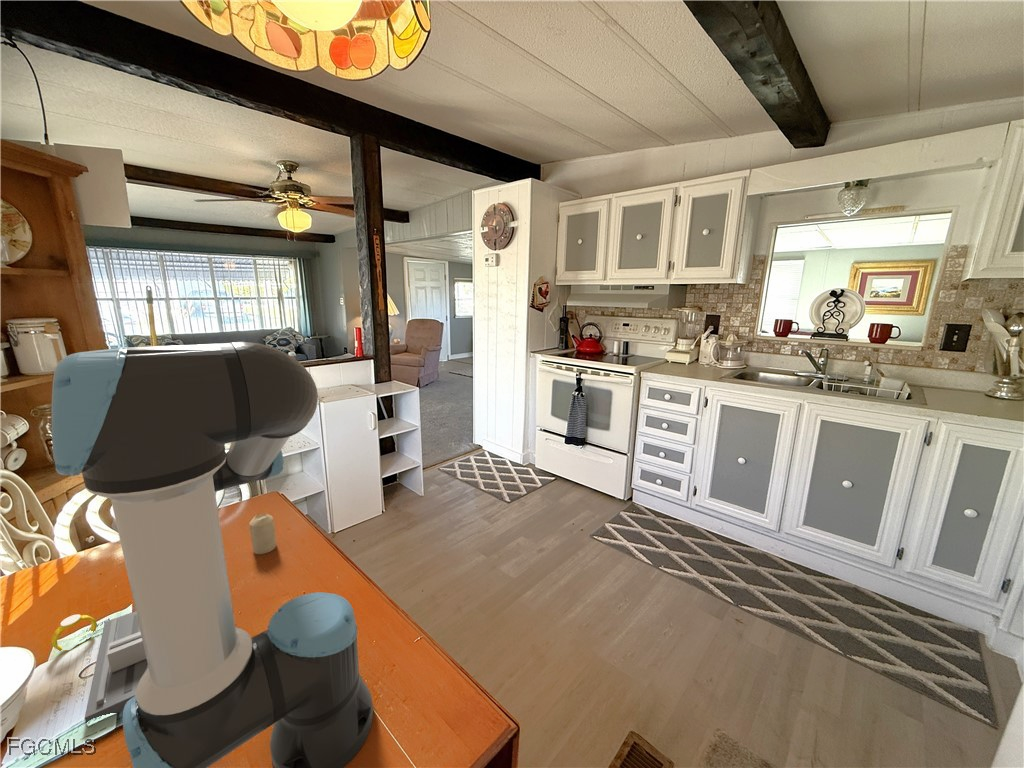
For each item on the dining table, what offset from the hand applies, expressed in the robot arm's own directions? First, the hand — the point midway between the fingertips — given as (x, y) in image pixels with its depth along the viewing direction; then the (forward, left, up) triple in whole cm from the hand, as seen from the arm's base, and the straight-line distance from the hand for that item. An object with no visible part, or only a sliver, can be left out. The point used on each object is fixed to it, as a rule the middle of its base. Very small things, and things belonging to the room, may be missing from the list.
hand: (185, 610), depth 83 cm
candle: (+19, -17, -4) cm, 26 cm away
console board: (-4, +4, -3) cm, 6 cm away
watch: (+7, +17, -4) cm, 19 cm away
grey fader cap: (-7, +8, -1) cm, 11 cm away
